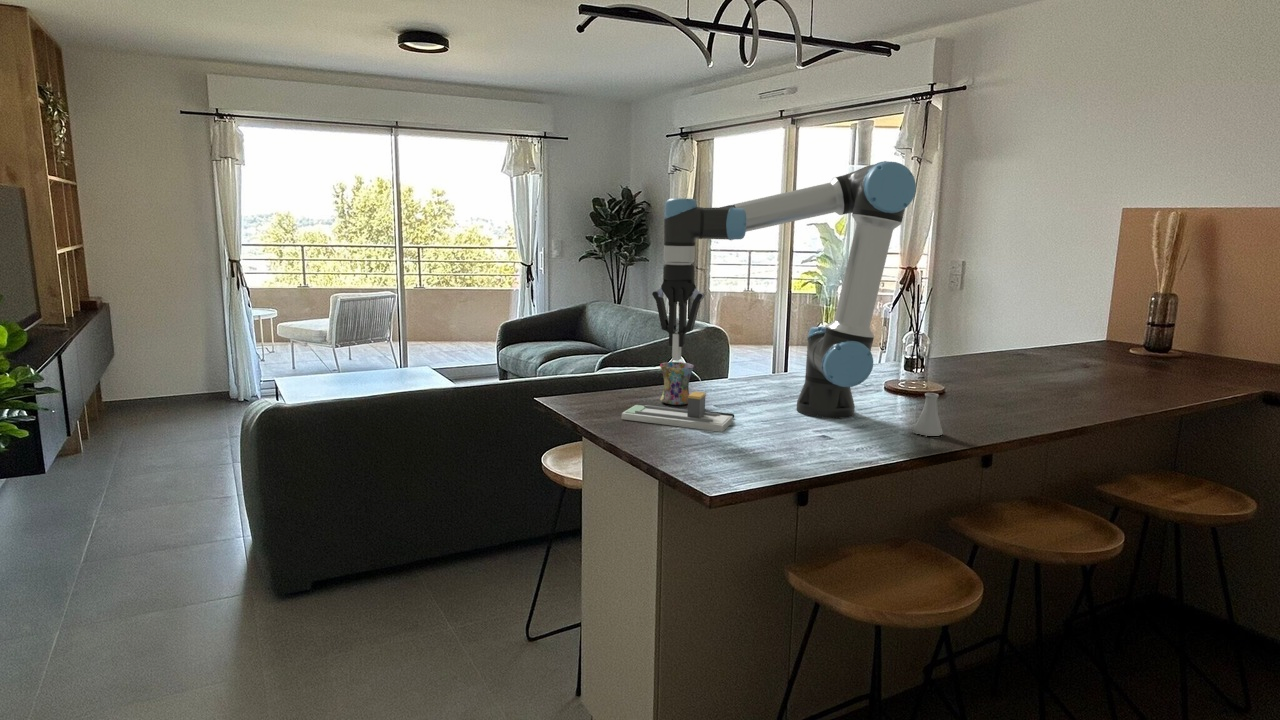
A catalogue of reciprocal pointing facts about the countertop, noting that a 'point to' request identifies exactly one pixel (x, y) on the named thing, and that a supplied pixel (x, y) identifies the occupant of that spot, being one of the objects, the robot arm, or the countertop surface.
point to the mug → (676, 382)
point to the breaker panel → (677, 417)
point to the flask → (929, 418)
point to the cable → (712, 412)
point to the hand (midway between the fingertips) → (676, 359)
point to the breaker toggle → (696, 404)
